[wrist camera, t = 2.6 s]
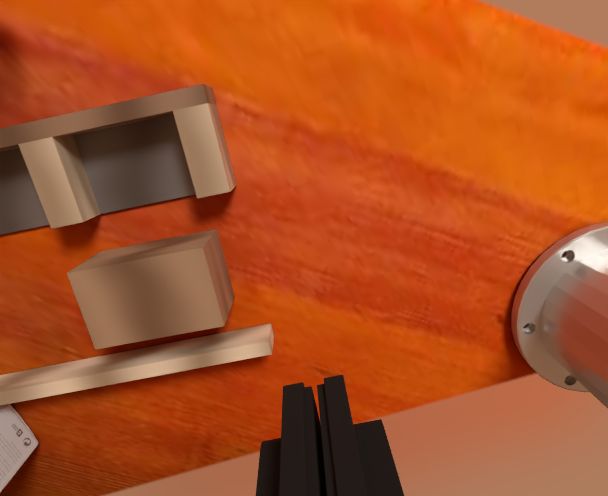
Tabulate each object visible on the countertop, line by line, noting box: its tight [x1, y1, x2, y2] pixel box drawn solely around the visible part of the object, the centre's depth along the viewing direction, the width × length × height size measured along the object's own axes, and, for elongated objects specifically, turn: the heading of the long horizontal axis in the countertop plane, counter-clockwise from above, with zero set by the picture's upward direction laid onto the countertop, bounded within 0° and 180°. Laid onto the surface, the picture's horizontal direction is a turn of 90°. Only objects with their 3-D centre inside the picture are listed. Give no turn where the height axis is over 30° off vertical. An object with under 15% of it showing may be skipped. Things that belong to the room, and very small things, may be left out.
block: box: [67, 229, 235, 349], centre depth 27 cm, size 8×5×4 cm, turn 101°
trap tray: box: [0, 84, 274, 405], centre depth 27 cm, size 23×17×2 cm
